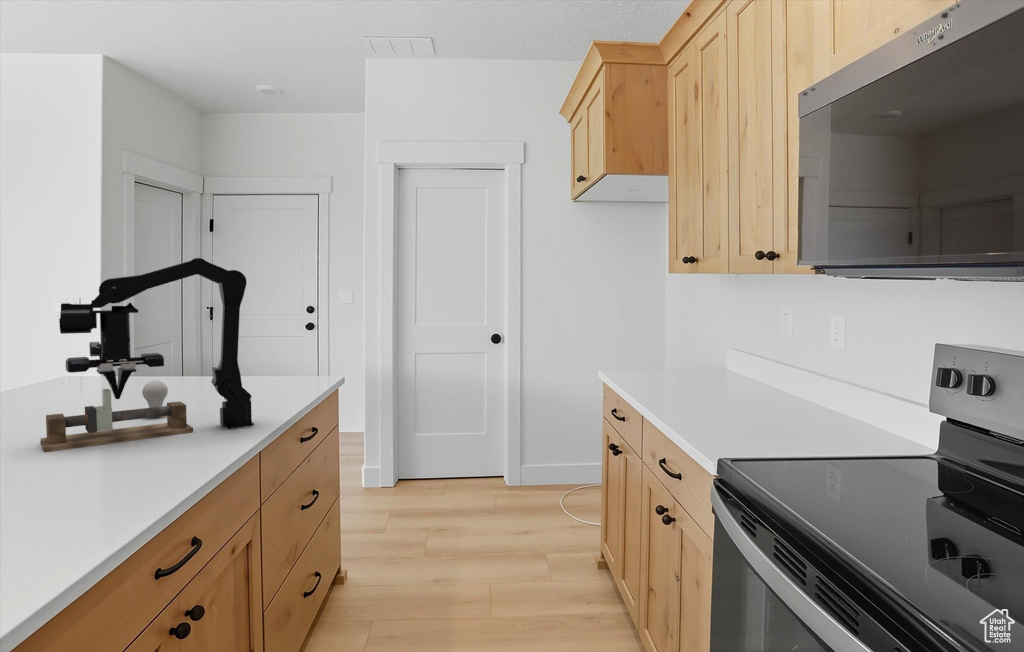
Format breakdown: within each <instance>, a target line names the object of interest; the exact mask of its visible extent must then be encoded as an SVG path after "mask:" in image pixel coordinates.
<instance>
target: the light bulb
mask: <svg viewBox="0 0 1024 652" xmlns="http://www.w3.org/2000/svg"><path fill="white" fill-rule="evenodd" d="M141 394H142V397H143V398H144V400H145V401H146V402H147V406H148V408H152V407H162V406H163V404H164V400H165V399H166V398H167V396H168V387H167V385H166V384H165V382H163V381H160V380H157V379H156V380H151V381H148V382H147V383H145V385H144V386H143V388H142V393H141Z"/></svg>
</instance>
